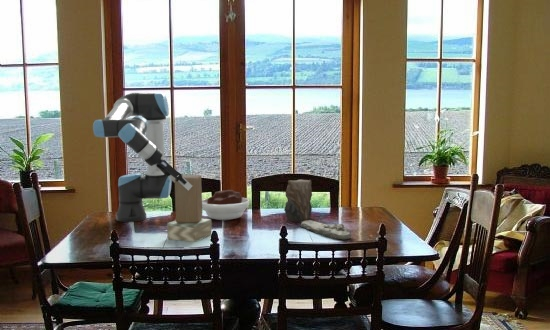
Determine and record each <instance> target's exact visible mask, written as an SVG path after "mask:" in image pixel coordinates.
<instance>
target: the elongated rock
mask: <svg viewBox="0 0 550 330" xmlns="http://www.w3.org/2000/svg"><path fill="white" fill-rule="evenodd" d="M300 227H301V228H304V229H307V230H308V231H309V232H312V233H315V234H318V233H319V235H322V236H324V237H326V238H331V239H332V240H333V239H334V240H335V239H336V240H344V241H345V240H349V239H351V238H352V232H351V231H350V229H348V228H347V227H345V225H344V224H343V223H334V224H326V223H323V222H318V221H315V220H313V219H309V220H307V221H303V222H300Z"/></svg>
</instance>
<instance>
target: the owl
mask: <svg viewBox="0 0 550 330" xmlns="http://www.w3.org/2000/svg"><path fill="white" fill-rule="evenodd" d="M287 183H288V184H287V187H286V190H285V197H286V198H287V201H286V202H285V206H284V209H283V211H284V213H285V217H286V221H289V222H291V221H292V222H300V223H302V222H303V221H307V220H311V216H312V210H313V208H312V207H313V206H312V203H311V201H312V196H313V188H312V180H311V179H309V180H308V179H302V178H301V179H297V180H288V181H287Z"/></svg>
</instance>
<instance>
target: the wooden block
mask: <svg viewBox="0 0 550 330" xmlns="http://www.w3.org/2000/svg"><path fill="white" fill-rule="evenodd" d="M182 176H183V177H184V178H185V179H186V180H187V181H188V182H189V183H190V184H191V185H192V187H191V189H190V190H189V191H188V190H187V189H186V188H185V187H184V186H183V185H181V184H180V183H179V182H176V180H177V179H176V178H175V183H174V197H175V198H174V200H175V205H174V206H175V220H176V222H177V223H198V222H199V221H200V220H201V219H203V208H202V200H203V194H202V193H203V190H202V189H203V187H202V175H200V174H182Z"/></svg>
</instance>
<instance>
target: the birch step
mask: <svg viewBox="0 0 550 330" xmlns="http://www.w3.org/2000/svg"><path fill="white" fill-rule="evenodd" d="M166 229H167V234H166V235H167V240H172V241H183V240H184V242H185V241H186V242H193V243H194V242H198V241H200V240H203V239H205V238H207V237H209V236H211V233H212V230H213V229H212V219H211V218H202V219H201V220H200V221H199V222H198V223H177V222H176V219H175V220H173V221H169V222H167V223H166Z"/></svg>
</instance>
